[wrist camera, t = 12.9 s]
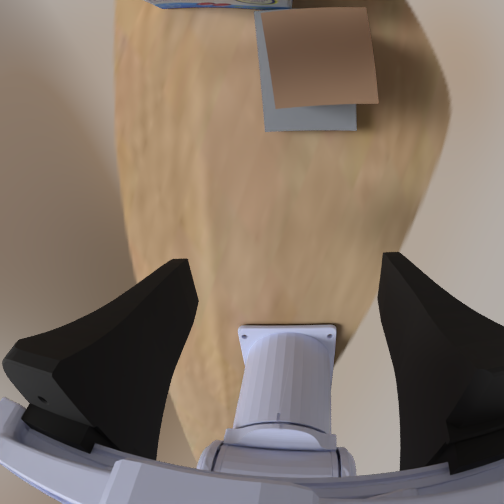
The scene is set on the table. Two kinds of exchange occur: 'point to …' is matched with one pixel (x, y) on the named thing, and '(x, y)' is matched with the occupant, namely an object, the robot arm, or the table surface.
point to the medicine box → (224, 4)
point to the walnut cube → (320, 56)
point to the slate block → (297, 116)
